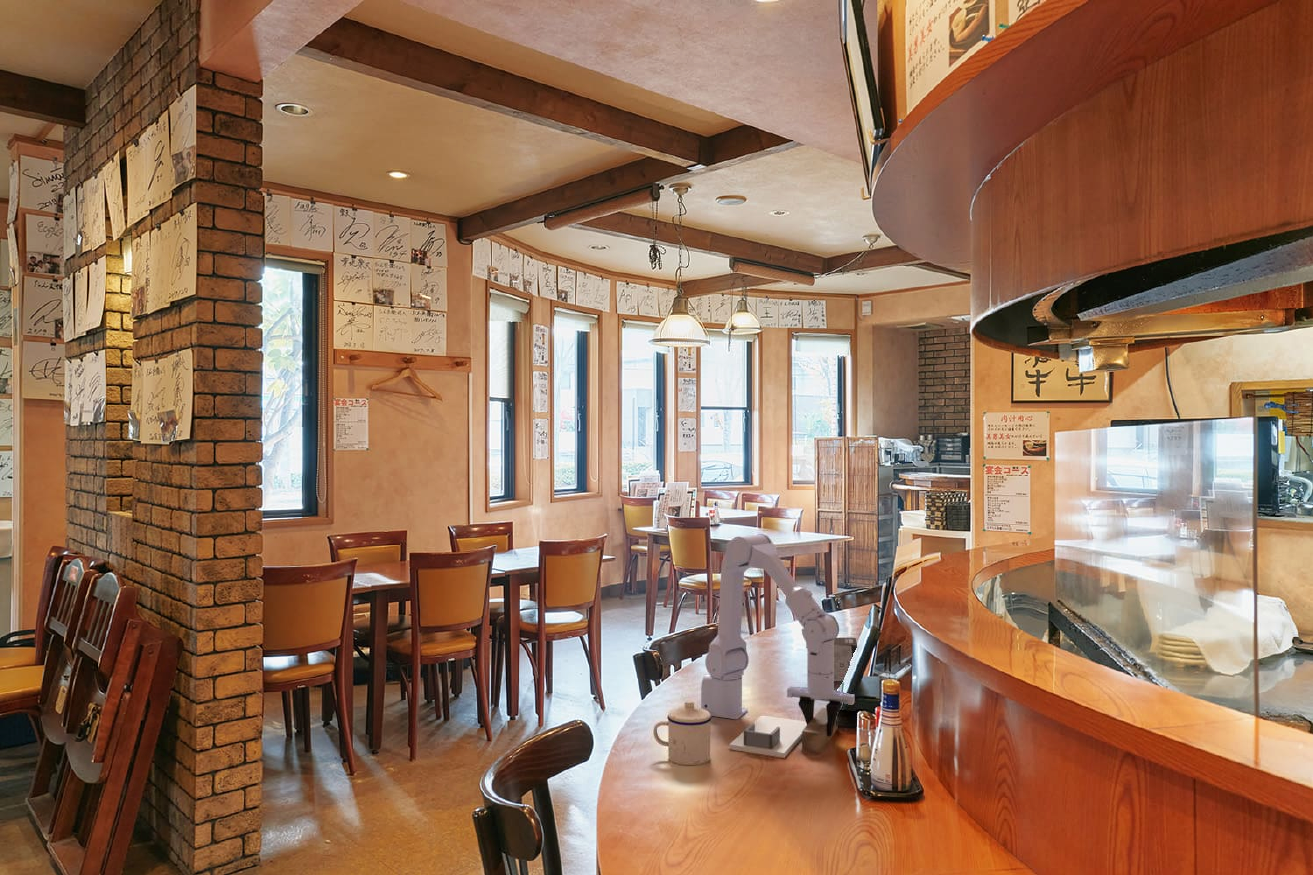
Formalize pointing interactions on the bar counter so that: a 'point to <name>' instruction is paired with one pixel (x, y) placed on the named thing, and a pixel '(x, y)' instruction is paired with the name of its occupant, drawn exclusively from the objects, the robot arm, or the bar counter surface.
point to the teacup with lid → (687, 734)
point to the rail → (816, 733)
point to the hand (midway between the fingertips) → (820, 733)
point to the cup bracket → (770, 736)
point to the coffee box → (842, 658)
